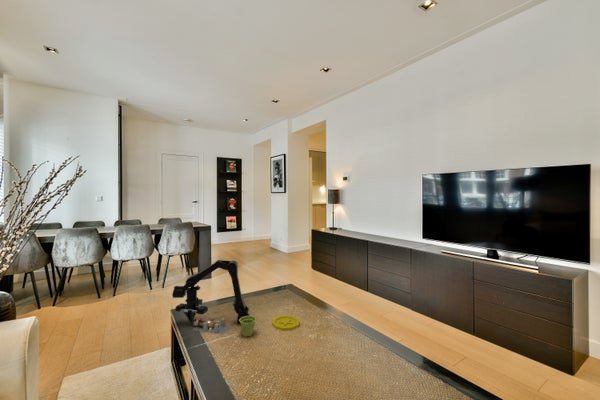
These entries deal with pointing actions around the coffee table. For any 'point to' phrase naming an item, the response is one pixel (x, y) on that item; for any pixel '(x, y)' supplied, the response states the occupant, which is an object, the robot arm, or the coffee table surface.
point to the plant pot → (247, 325)
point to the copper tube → (200, 323)
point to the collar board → (221, 329)
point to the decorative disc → (285, 322)
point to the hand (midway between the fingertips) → (191, 322)
